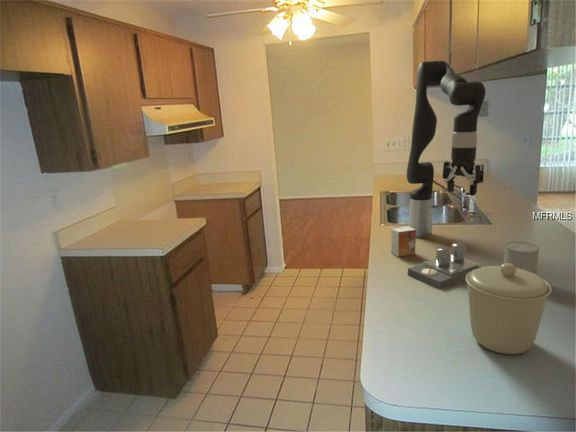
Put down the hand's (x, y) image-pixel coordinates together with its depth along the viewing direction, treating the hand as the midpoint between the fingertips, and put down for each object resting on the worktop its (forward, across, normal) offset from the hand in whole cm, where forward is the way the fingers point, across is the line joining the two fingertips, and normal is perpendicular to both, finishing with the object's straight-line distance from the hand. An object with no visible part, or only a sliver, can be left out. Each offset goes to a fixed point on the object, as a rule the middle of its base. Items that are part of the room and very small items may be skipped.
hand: (461, 193), depth 135 cm
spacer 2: (+24, 0, 0) cm, 24 cm away
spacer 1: (+25, 0, +8) cm, 26 cm away
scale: (+28, 0, +6) cm, 29 cm away
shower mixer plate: (+26, 0, +3) cm, 26 cm away
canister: (+28, -36, +28) cm, 54 cm away
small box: (+28, +23, +4) cm, 37 cm away
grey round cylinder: (+28, -18, -8) cm, 34 cm away
